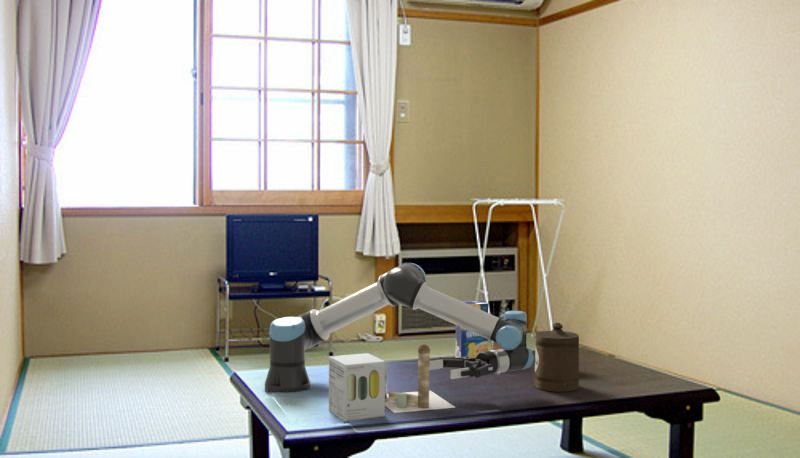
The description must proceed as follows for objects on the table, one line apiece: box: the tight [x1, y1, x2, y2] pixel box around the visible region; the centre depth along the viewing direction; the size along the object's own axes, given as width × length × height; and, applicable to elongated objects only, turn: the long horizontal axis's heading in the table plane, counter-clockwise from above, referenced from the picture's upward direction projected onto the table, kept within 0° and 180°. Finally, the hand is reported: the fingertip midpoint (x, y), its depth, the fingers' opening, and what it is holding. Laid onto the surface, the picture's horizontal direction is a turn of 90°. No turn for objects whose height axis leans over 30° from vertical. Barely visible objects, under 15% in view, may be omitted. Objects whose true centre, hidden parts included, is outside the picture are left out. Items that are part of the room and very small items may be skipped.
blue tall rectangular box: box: [454, 300, 489, 358], centre depth 355 cm, size 7×11×22 cm, turn 106°
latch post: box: [397, 392, 407, 408], centre depth 282 cm, size 3×3×4 cm
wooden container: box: [534, 322, 580, 393], centre depth 311 cm, size 15×15×22 cm
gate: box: [388, 344, 431, 408], centre depth 284 cm, size 14×4×19 cm, turn 59°
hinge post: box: [385, 361, 389, 402], centre depth 289 cm, size 4×4×12 cm
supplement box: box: [328, 352, 386, 424], centre depth 274 cm, size 13×13×18 cm
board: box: [385, 390, 456, 414], centre depth 289 cm, size 20×22×1 cm
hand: (438, 370), depth 283 cm, fingers open, 13 cm apart
